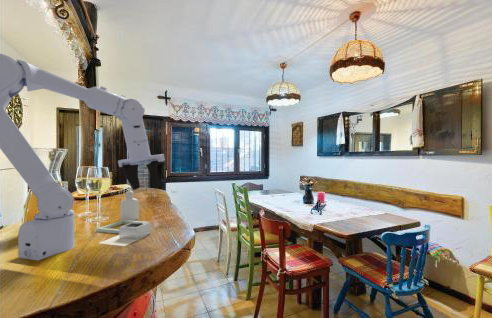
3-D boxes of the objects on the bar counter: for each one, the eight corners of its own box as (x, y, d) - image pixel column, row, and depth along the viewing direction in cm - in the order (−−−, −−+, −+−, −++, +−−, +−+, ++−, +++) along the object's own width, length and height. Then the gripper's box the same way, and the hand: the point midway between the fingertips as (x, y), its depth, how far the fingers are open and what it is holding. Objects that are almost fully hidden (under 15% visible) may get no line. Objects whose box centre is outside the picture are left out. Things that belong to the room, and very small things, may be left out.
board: (124, 250, 56) (124, 246, 56) (98, 247, 58) (98, 243, 58) (147, 239, 63) (146, 235, 63) (123, 236, 65) (123, 233, 65)
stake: (136, 237, 62) (136, 224, 62) (129, 236, 63) (128, 224, 63) (141, 235, 64) (141, 222, 64) (133, 234, 64) (133, 222, 64)
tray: (124, 237, 65) (124, 231, 65) (96, 234, 67) (96, 228, 67) (148, 227, 74) (148, 221, 74) (123, 225, 77) (123, 219, 77)
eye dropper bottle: (123, 221, 82) (123, 187, 82) (140, 220, 83) (140, 187, 83) (118, 224, 78) (118, 189, 78) (136, 223, 79) (136, 188, 79)
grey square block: (136, 240, 60) (136, 228, 60) (119, 238, 61) (119, 226, 61) (150, 233, 65) (150, 222, 65) (134, 232, 66) (134, 221, 66)
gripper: (166, 137, 68) (175, 182, 70) (126, 144, 72) (136, 186, 74) (151, 139, 62) (162, 188, 63) (108, 146, 65) (119, 192, 67)
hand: (147, 187), depth 68 cm, fingers open, 7 cm apart
